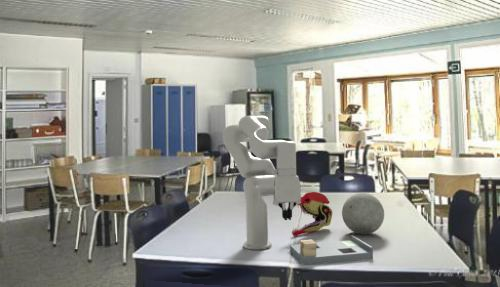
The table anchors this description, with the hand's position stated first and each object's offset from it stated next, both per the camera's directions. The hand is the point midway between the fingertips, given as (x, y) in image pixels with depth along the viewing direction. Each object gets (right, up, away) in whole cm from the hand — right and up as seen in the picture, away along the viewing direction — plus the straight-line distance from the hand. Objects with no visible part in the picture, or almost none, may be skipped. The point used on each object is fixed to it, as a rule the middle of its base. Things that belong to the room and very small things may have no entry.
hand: (287, 219), depth 163 cm
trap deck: (+18, -16, +9) cm, 26 cm away
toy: (+17, -15, +45) cm, 50 cm away
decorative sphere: (+40, -15, +39) cm, 58 cm away
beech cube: (+9, -14, +2) cm, 17 cm away
